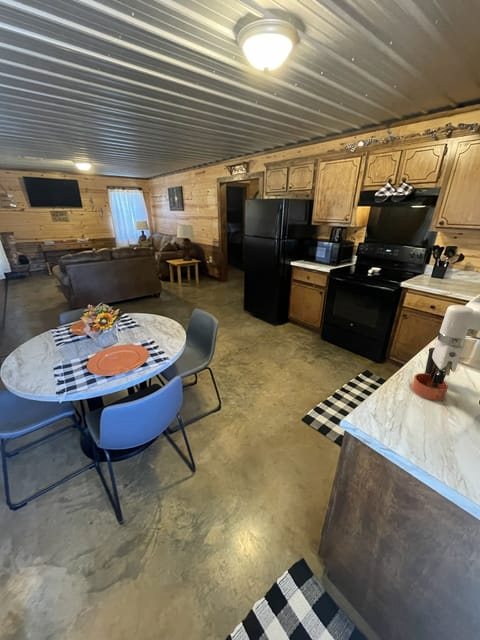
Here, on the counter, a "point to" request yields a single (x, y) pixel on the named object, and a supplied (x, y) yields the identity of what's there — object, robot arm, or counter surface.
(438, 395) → the bowl
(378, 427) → the counter surface
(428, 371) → the drinking cup
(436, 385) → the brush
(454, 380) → the counter surface
